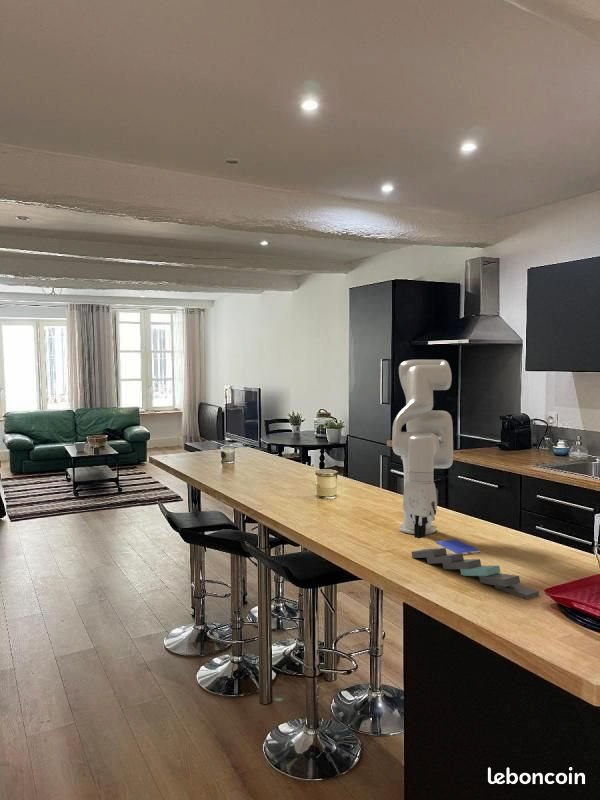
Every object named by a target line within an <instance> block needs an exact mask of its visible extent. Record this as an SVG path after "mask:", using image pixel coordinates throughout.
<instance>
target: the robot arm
mask: <svg viewBox="0 0 600 800" xmlns="http://www.w3.org/2000/svg"><path fill="white" fill-rule="evenodd" d="M398 375H399V380H400V385H401V388H402V390H403V393H404V397H405V406H404V407H403V408H401V410H399V412H398V413H397V414H396V417H394V420H393V423H392V432H391V434H392V435H391V437H392V439H391V443H392V446H391V447H392V450H393V453H394V454H395V455H397V456H400V457H401V458H402V465H403V496H402V497H403V498H402V510H403V523H401V524H400V525H398V528H399V531H400V532H402V533H406V534H409V535H413V536H414V538H417V539H423V538H426V535H431V534H433V533H436V529H437V528H436V526H434V525H433V524H432V522H433V521H435V520H436V517H435V516H436V515H437V510H438V509H437V508H438V506H437V503H438V502H437V501H438V500H437V490H436V484H435V482H434V473H435V472H434V470H435V469H449V468H451V466H452V465H453V462H454V429H453V425H454V424H453V419H452V415H451V414H450V413H449V412H448V411H446V410H435V409H434V391H447V390H449V389H450V388H451V385H452V370H451V367H450V364H449V362H448V361H447V360H445V359H408V360H404V361H402V362H401V363H400V364H399V366H398ZM433 409H434V410H433ZM405 424H406V425H405ZM404 425H405V426H406V431H402V428H403V426H404Z"/></svg>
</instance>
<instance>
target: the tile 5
mask: <svg viewBox="0 0 600 800" xmlns="http://www.w3.org/2000/svg"><path fill="white" fill-rule="evenodd" d="M478 578H479V583H480V584H483V585H484V584H485V585H489V586H495V585H496V586H502V587H507V586H511V585H515V584H521V580H520V579H521V578H520V575H515V574H507V573H497V574H493V575H489V576H478Z"/></svg>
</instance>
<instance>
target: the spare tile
mask: <svg viewBox="0 0 600 800" xmlns="http://www.w3.org/2000/svg"><path fill="white" fill-rule="evenodd" d="M500 567H501V566H500V565H481V566H478V567H475V568H471V569H459V570H460V576H461V575H463V577H467V576H468V577H479V576H489V575H493V574H497V573H501V569H500ZM501 574H502V573H501Z"/></svg>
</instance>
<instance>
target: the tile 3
mask: <svg viewBox="0 0 600 800" xmlns="http://www.w3.org/2000/svg"><path fill="white" fill-rule="evenodd" d="M441 564H442V568H444V569H443V570H460V569H471V568H475V567H478V566H482V561H481V559H480V558H474V559H471V558H470V559H463V560H459V561H455V562H451V563H441Z"/></svg>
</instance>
